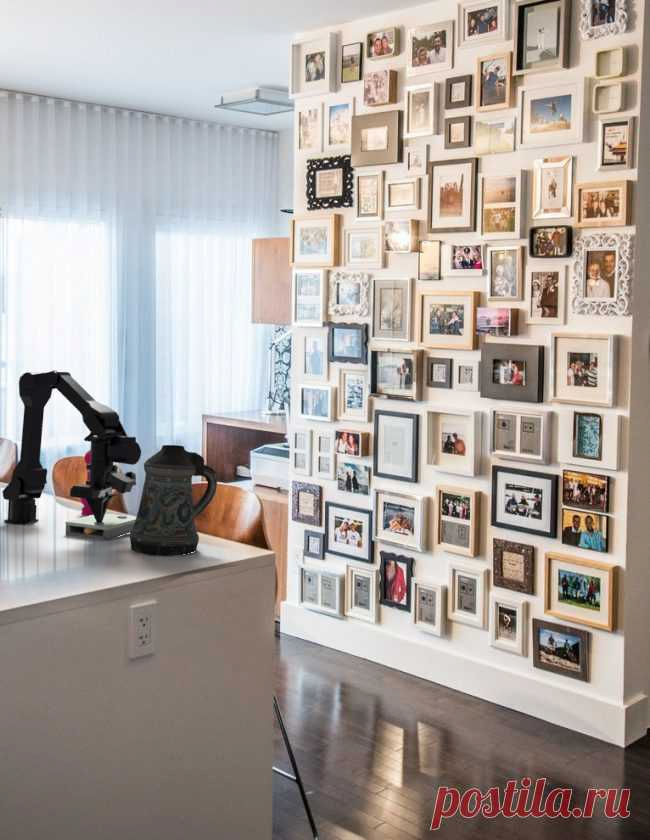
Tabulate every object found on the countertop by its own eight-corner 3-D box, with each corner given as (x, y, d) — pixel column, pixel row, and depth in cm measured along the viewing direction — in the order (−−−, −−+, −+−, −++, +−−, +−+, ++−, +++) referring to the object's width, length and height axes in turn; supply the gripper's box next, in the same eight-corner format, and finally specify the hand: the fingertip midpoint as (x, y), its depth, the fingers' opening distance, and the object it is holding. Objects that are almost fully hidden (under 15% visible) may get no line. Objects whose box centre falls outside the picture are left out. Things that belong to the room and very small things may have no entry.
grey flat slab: (65, 534, 254) (65, 524, 254) (100, 525, 269) (100, 516, 269) (107, 540, 250) (107, 530, 250) (139, 530, 265) (140, 521, 265)
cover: (65, 524, 253) (65, 520, 253) (100, 515, 269) (101, 511, 269) (107, 530, 250) (107, 525, 249) (140, 521, 265) (140, 516, 265)
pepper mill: (109, 513, 289) (112, 443, 288) (101, 517, 282) (104, 445, 280) (84, 511, 290) (87, 441, 288) (76, 515, 282) (79, 444, 281)
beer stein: (114, 547, 242) (119, 443, 240) (176, 539, 257) (180, 440, 255) (160, 559, 232) (165, 450, 230) (221, 550, 246) (226, 447, 245)
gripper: (110, 466, 241) (107, 531, 242) (149, 460, 258) (146, 521, 259) (69, 462, 244) (67, 526, 246) (111, 456, 262) (108, 516, 263)
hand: (99, 522), depth 253 cm, fingers closed, pressing on cover
